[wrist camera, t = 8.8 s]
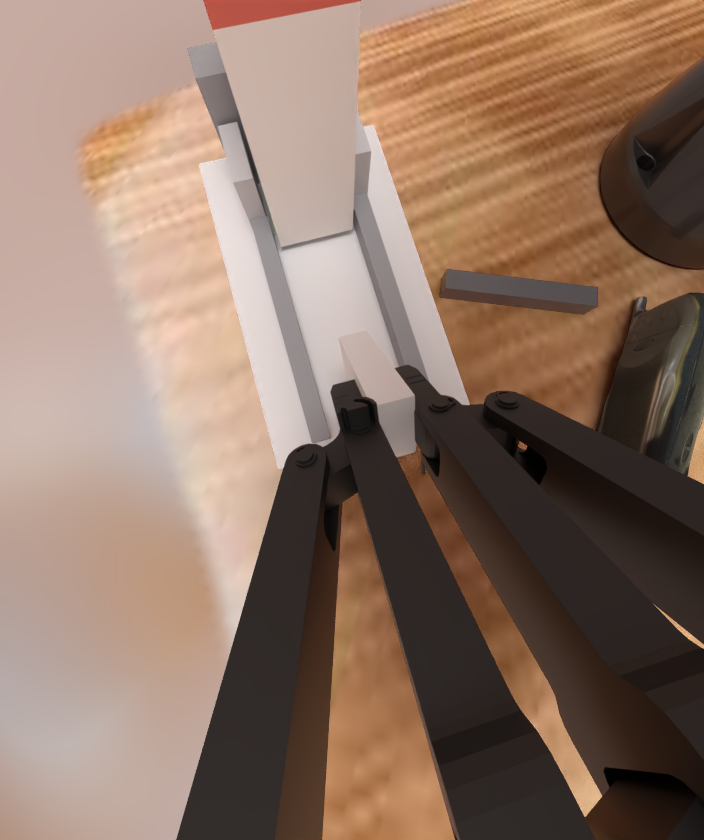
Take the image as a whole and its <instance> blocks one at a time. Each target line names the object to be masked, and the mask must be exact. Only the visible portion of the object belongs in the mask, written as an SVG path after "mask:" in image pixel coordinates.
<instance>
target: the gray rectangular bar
mask: <svg viewBox="0 0 704 840" xmlns="http://www.w3.org/2000/svg"><path fill="white" fill-rule="evenodd" d="M440 298H448V299H457V300H465V301H474V302H482V303H491V304H499V305H508V306H516V307H525V308H533V309H541V310H550V311H558V312H567V313H575V314H585V313H587V312H589V311H591V310H592V309H594V308H596V307H598V287H592V286H583V285H575V284H567V283H558V282H550V281H542V280H534V279H525V278H517V277H509V276H501V275H492V274H484V273H476V272H468V271H459V270H451V269H447V270H446V272H445V273H444V275H443V277H442V279H441V288H440Z"/></svg>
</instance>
